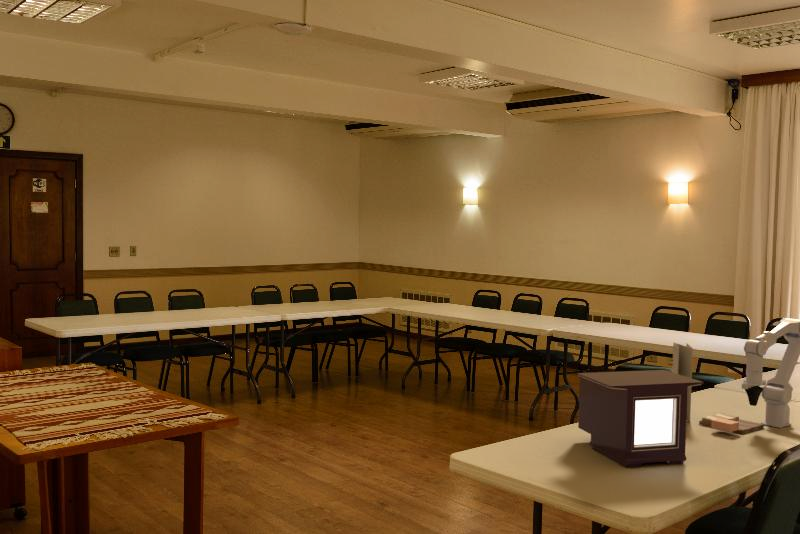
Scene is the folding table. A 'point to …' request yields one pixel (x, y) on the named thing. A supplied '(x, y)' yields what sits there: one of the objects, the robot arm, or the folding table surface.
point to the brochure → (683, 367)
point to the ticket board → (743, 425)
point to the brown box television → (635, 415)
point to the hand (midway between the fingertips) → (753, 405)
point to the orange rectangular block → (725, 425)
